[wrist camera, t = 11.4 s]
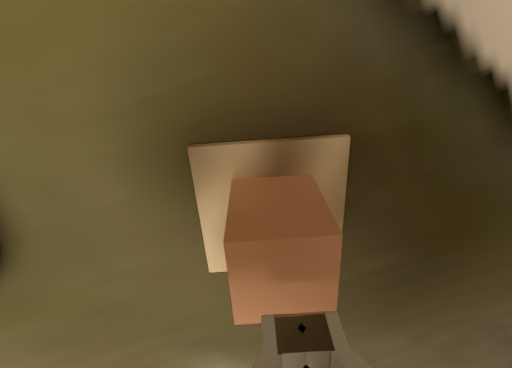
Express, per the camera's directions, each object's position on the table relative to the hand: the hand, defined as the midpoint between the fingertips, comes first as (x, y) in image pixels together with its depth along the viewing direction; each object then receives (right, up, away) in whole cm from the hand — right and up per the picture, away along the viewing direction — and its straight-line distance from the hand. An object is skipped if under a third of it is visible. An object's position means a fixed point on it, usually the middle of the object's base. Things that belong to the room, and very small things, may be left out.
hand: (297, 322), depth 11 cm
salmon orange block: (0, +4, +8) cm, 9 cm away
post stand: (-1, +4, +9) cm, 9 cm away
